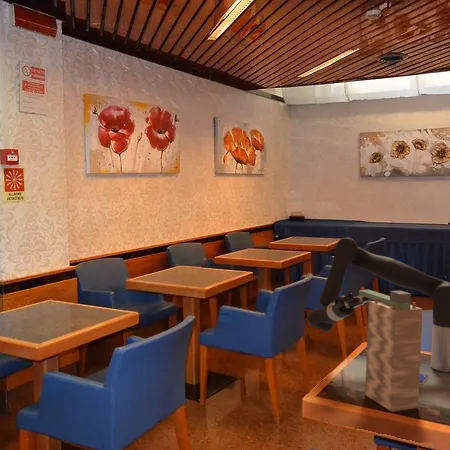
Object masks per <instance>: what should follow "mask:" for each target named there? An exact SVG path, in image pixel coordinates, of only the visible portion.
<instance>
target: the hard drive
mask: <svg viewBox="0 0 450 450" xmlns="http://www.w3.org/2000/svg"><path fill="white" fill-rule="evenodd" d="M428 378H429V375H428V374H423V373H419V385H424V384H425V382H426V380H428Z"/></svg>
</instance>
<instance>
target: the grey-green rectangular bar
mask: <svg viewBox="0 0 450 450" xmlns="http://www.w3.org/2000/svg"><path fill="white" fill-rule="evenodd" d="M389 292H390V295H387V294H383V293H380V292H377V291H374V290H371V289H360V290H358V296H359V295H361V296H364V297H367V298H370V299H372V300H373V301H375V298H378V301H379V302H382V303H384V304H387V305H390V306H393V304H396V308H399V309H405V308H410V305H412V304H411V303H412V293H410V292H406V291H403V290H391V291H389Z"/></svg>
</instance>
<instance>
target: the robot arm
mask: <svg viewBox="0 0 450 450" xmlns="http://www.w3.org/2000/svg"><path fill="white" fill-rule="evenodd" d="M349 265H352V266H354V267H358V268H361V269H363V270H366V271H368V272H369V273H371V274H373V275H374V276H377V277H378V278H381V279H383V280H385V281H386V282H389V283H391V284H394V285H395V286H398V287H401V288H404V289H405V288H406V289H409V290H414V291H417V292H419V293H423V294H425V295H427V296H429V297H431V298H432V299H433V301H432V333H431V334H432V335H431V336H432V338H431V356H430V358H431V359H430V367H431V368H432V369H434V370H437V371H440V372H444V373H445V372H446V373H450V282H449V281H446V280H443V279H440V278H437V277H434V276H431V275H428V274H426V273H424V272H422V271H420V270H419V269H417V268H414V267H412V266H410V265H409V264H406V263H404V262H402V261H399V260H397V259H394V258H392V257H390V256H389V257H388V256H384V255H377V254H374V253H372V252H369V251H367V250H365V249H364V248H361V247H360V246H358V244H357V242H356V241H355V240H354V239H353V238H351V237H343V238H340V239H339V240H338V241H337V242H336V245H335V249H334V255H333V260H332V263H331V267H330V270H329V273H328V276H327V277H326V281H325V284H324V286H323V288H322V292H321V294H320V297H319V300H318V303H319V304H320V306H322V307H317V308H315V309H312V310H310V312H309V313H308V316H307V323H308V325H309V326H311V327H313V328H315V329H317V330H320V331H322V332H325V333H327V332H330V331H332V329H333V327H334V324H335V323H337V322H339V321H341V320H343V319H345V318H347V317H349V316H350V315H352V314H353V313H354V312H355V309H356V308H357V307H360V306H361V307H365V306H366V305H369V301H374V300H373V299H370V298H367V297H364V296H361V295H359V294H358V295H356V296H354V294H353V293H352V292H350V293H348V294H346V295H341V296H340V294H341V292H342V288H343V284H344V280H345V275H346V272H347V270H348V268H349Z"/></svg>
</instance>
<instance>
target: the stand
mask: <svg viewBox="0 0 450 450" xmlns="http://www.w3.org/2000/svg"><path fill="white" fill-rule="evenodd" d="M411 303H412V304H411V305H410V308H405V309H399V308H396V304H393V306H390V305H387V304H384V303H382V302H379V301H378V298H375V300H373V301H369V304H368V310H367V311H368V313H367V337H366V338H367V339H366V360H365V361H366V363H365V364H366V366H365V368H366V369H365V385H364V386H365V387H364V388H365V390H364V394H365V396H366V397H368V398H369V399H371V400H372V401H374V402H376V403H377V404H378V405H380V406H382V407H384V408H385V409H387V410H388V411H389V412H392V413H394V412H400V411H406V410H412V409H418V408H419V396H420V395H419V390H420V384H419V374H421V373H420V372H421V371H420V367H421V351H422V350H421V348H422V331H423V330H422V327H423V308H421V307H418V306H416V305H417V304H416V303H417V302H416V301H415V302H414V301H413V302H412V301H411Z"/></svg>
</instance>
